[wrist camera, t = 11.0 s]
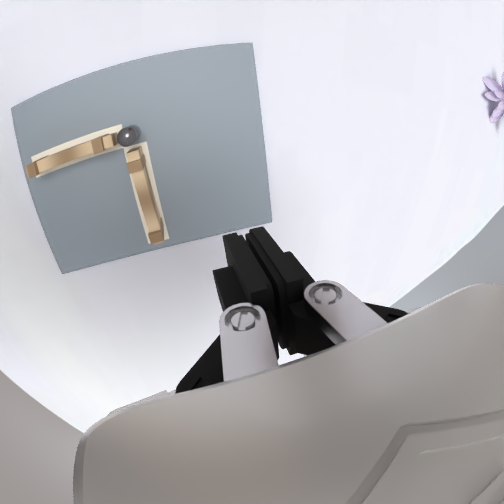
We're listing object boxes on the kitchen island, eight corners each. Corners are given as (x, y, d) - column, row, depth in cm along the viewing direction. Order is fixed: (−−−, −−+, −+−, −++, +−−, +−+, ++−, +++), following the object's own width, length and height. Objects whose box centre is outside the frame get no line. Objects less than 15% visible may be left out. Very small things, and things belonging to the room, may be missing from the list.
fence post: (127, 142, 27) (119, 149, 23) (123, 126, 26) (115, 130, 22) (142, 138, 28) (137, 144, 23) (139, 122, 27) (134, 125, 22)
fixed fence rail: (116, 131, 26) (109, 134, 22) (119, 143, 26) (112, 148, 23) (37, 159, 24) (22, 167, 20) (40, 171, 24) (25, 180, 21)
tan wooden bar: (129, 149, 27) (124, 155, 23) (142, 145, 27) (138, 150, 24) (153, 232, 32) (152, 248, 29) (164, 229, 32) (165, 244, 29)
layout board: (63, 271, 32) (62, 274, 31) (13, 107, 20) (10, 108, 20) (270, 220, 37) (272, 222, 36) (250, 43, 25) (252, 42, 25)
